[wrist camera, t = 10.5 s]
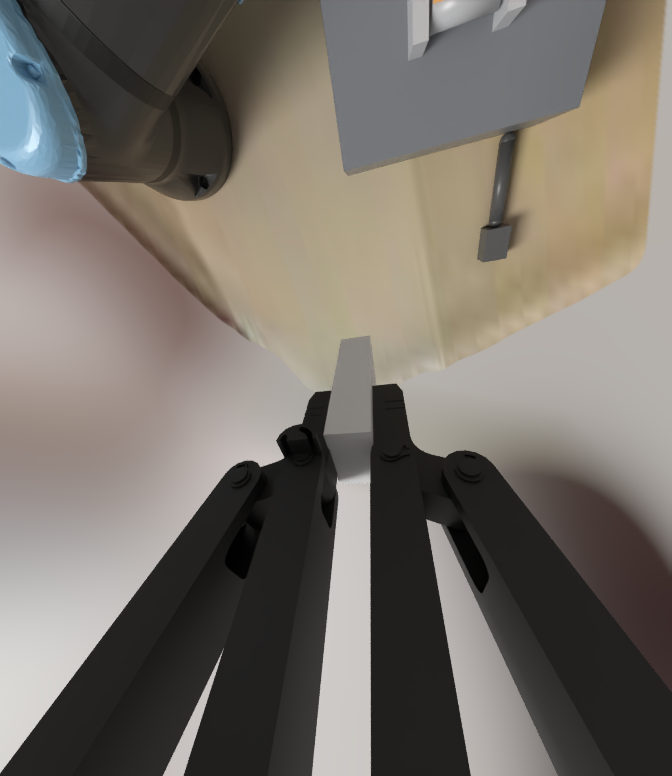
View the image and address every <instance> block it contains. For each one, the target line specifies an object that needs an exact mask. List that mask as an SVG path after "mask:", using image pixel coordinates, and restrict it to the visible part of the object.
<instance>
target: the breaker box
mask: <svg viewBox="0 0 672 776" xmlns="http://www.w3.org/2000/svg"><path fill="white" fill-rule="evenodd" d="M320 3H321V10H322V17H323V24H324V32H325V39H326V46H327V53H328V60H329V67H330V75H331V82H332V89H333V96H334V103H335V111H336V118H337V125H338V132H339V139H340V147H341V154H342V161H343V168H344V172H345V173H346V174H347V175H348V176H349V175H353V174H357V173H360V172H364V171H368V170H371V169H375V168H379V167H383V166H386V165H390V164H394V163H397V162H401V161H405V160H409V159H412V158H416V157H420V156H423V155H427V154H431V153H435V152H438V151H442V150H446V149H449V148H453V147H457V146H461V145H464V144H468V143H472V142H475V141H479V140H483V139H487V138H490V137H494V136H498V135H501V134H504V135H503V136H502V138H501V140H500V143H499V150H498V157H497V165H496V172H495V180H494V187H493V195H492V202H491V210H490V218H489V225H490V227H486V228H481V233H480V241H479V250H478V258H477V259H478V260H480V261H482V262H488V261H494V260H499V259H505V258H506V257H507V251H508V245H509V240H510V234H511V229H512V225H508V224H501V223H502V220H503V214H504V208H505V202H506V195H507V189H508V183H509V176H510V170H511V164H512V157H513V151H514V145H515V138H516V137H515V134H514V133H513V131H516V130H520V129H524V128H527V127H531V126H535V125H537V124H539V123H542V122H544V121H547V120H549V119H552V118H554V117H556V116H559V115H561V114H564V113H566V112H569V111H571V110H573V109H576V108H578V107H579V106H580V102H581V98H582V95H583V91H584V87H585V83H586V79H587V75H588V71H589V67H590V63H591V59H592V55H593V51H594V47H595V43H596V39H597V35H598V31H599V27H600V23H601V20H602V16H603V12H604V8H605V4H606V0H501V3H500V6H499V8H498V10H497V11H496V12H495V13H492V14H489V15H486V16H483V17H481V18H478V19H475V20H472V21H470V22H467V23H464V24H461V25H458V26H456V27H453V28H450V29H447V30H444V31H442V32H439V33H436V34H433V35H431V36H429V0H320ZM505 133H506V134H505Z"/></svg>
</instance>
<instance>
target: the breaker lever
mask: <svg viewBox="0 0 672 776" xmlns="http://www.w3.org/2000/svg"><path fill="white" fill-rule="evenodd" d="M500 3H501V0H429V36H431V35H433V34H436V33H439V32H442V31H444V30H447V29H450V28H453V27H456V26H458V25H461V24H464V23H467V22H470V21H472V20H475V19H478V18H481V17H483V16H486V15H489V14H492V13H495V12H496V11H497V10H498V8H499V6H500Z"/></svg>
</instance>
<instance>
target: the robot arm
mask: <svg viewBox="0 0 672 776" xmlns="http://www.w3.org/2000/svg"><path fill="white" fill-rule="evenodd" d="M243 1H244V0H0V164H2V165H4V166H6V167H8V168H10V169H12V170H15V171H18V172H20V173H24V174H27V175H31V176H38V177H46V178H54V179H57V180H60V181H62V182H67V183H68V182H69V183H73V182H75V181H76V182H78V181H99V182H128V183H144V184H145V185H147V186H149V187H151V188H152V189H154V190H156V191H158V192H160V193H161V194H163V195H165V196H168V197H170V198H173V199H177V200H183V201H196V200H203V199H206V198H208V197H210V196H212V195H213V194H215V193H216V192H217V191H218V190H219V189H220V188H221V186H222V185H223V183H224V182H225V180H226V178H227V175H228V172H229V169H230V165H231V159H232V135H231V128H230V123H229V118H228V114H227V111H226V108H225V105H224V102H223V99H222V97H221V95H220V92H219V90H218V88H217V86H216V84H215V82H214V80H213V79H212V77H211V75H210V74H209V72H208V71H207V69H206V68H205V67H204V65H203V64H202V63H201V61H200V59H201V57H202V56H203V54H204V52H205V51H206V49H207V48H208V46H209V45H210V43H211V42H212V40H213V38H214V37H215V35H216V34H217V32H218V31H219V29H220V28H221V26H222V24H223V23H224V21H225V20H226V18H227V17H228V15H229V14H230V12H231V10H232V9H233V7H234V6H235V4H236V3H238V4H242V2H243ZM276 441H277V443H278V445H279V447H280V449H281V451H282V453H283V455H284V459H282V460H280V461H278V462H275V463H272V464H269V465H266V466H263V467H260V466H259V465H258V463H256V462H254V461H244V462H241V463H238V464H236V465H235V466H233V467H232V468H231V469H230V470H229V471H228V472H227V473H226V474H225V475H224V477H223V478H222V479H221V480H220V482H219V483H218V484H217V486H216V487H215V488H214V490H213V491H212V492H211V494H210V495H209V496H208V498H207V499H206V500H205V502H204V503H203V504H202V506H201V507H200V508H199V510H198V511H197V512H196V514H195V515H194V516H193V518H192V519H191V520H190V522H189V523H188V524H187V526H186V527H185V528H184V530H183V531H182V532H181V534H180V535H179V536H178V538H177V539H176V540H175V542H174V543H173V544H172V546H171V547H170V548H169V549H168V551H167V552H166V553H165V555H164V556H163V558H162V559H161V560H160V561H159V563H158V564H157V565H156V567H155V568H154V570H153V571H152V572H151V574H150V575H149V576H148V577H147V579H146V580H145V581H144V583H143V584H142V586H141V587H140V588H139V590H138V591H137V592H136V594H135V595H134V596H133V598H132V599H131V600H130V601H129V603H128V604H127V605H126V607H125V608H124V609H123V611H122V612H121V614H120V615H119V616H118V617H117V619H116V620H115V621H114V623H113V624H112V625H111V627H110V628H109V629H108V631H107V632H106V633H105V635H104V636H103V637H102V639H101V640H100V641H99V643H98V644H97V645H96V647H95V648H94V650H93V651H92V652H91V653H90V655H89V656H88V657H87V659H86V660H85V661H84V663H83V664H82V665H81V667H80V668H79V669H78V671H77V672H76V673H75V675H74V676H73V678H72V679H71V680H70V681H69V683H68V684H67V685H66V687H65V688H64V689H63V691H62V692H61V693H60V695H59V696H58V697H57V699H56V700H55V701H54V703H53V704H52V706H51V707H50V708H49V709H48V711H47V712H46V713H45V715H44V716H43V717H42V719H41V720H40V721H39V723H38V724H37V725H36V727H35V728H34V729H33V731H32V732H31V733H30V735H29V736H28V737H27V739H26V740H25V741H24V743H23V744H22V745H21V747H20V748H19V749H18V751H17V752H16V753H15V755H14V756H13V757H12V759H11V760H10V761H9V762H8V764H7V765H6V766H5V768H4V769H3V770H2V772H1V773H0V776H163V774H164V772H165V770H166V767H167V765H168V763H169V761H170V759H171V757H172V755H173V753H174V751H175V749H176V747H177V745H178V743H179V741H180V739H181V736H182V734H183V732H184V730H185V728H186V726H187V724H188V722H189V720H190V718H191V716H192V713H193V711H194V709H195V707H196V705H197V703H198V701H199V699H200V697H201V695H202V692H203V690H204V688H205V686H206V684H207V682H208V680H209V678H210V676H211V674H212V672H213V669H214V667H215V665H216V663H217V661H218V659H219V657H220V655H221V653H222V651H223V653H222V656H221V659H220V662H219V666H218V669H217V672H216V675H215V678H214V681H213V685H212V688H211V691H210V694H209V697H208V700H207V704H206V707H205V710H204V713H203V716H202V719H201V723H200V726H199V729H198V732H197V735H196V738H195V741H194V745H193V748H192V751H191V754H190V757H189V760H188V764H187V767H186V770H185V773H184V776H312V767H313V755H314V745H315V736H316V725H317V714H318V705H319V694H320V683H321V673H322V663H323V653H324V643H325V632H326V621H327V610H328V601H329V590H330V580H331V570H332V559H333V549H334V539H335V528H336V518H337V508H338V492H337V489H336V483H337V477H338V480H339V483H340V484H356V483H357V484H360V483H370V524H371V525H370V531H371V532H370V533H371V537H370V538H371V543H370V544H371V545H370V546H371V776H471V775H470V769H469V763H468V757H467V752H466V746H465V740H464V734H463V729H462V723H461V718H460V712H459V705H458V700H457V694H456V688H455V682H454V677H453V671H452V665H451V660H450V654H449V648H448V642H447V636H446V631H445V625H444V619H443V613H442V608H441V602H440V596H439V591H438V585H437V579H436V573H435V567H434V562H433V556H432V550H431V544H430V539H429V533H428V527H427V521H426V519H427V520H430V521H433V522H436V523H439V524H441V525H442V527H443V529H444V531H445V534H446V536H447V538H448V540H449V542H450V544H451V546H452V548H453V551H454V553H455V555H456V557H457V559H458V562H459V563H460V566H461V568H462V570H463V572H464V574H465V577H466V578H467V581H468V583H469V585H470V587H471V589H472V592H473V594H474V596H475V598H476V600H477V602H478V604H479V606H480V609H481V611H482V613H483V615H484V617H485V620H486V622H487V624H488V626H489V628H490V630H491V632H492V634H493V637H494V639H495V641H496V643H497V645H498V647H499V650H500V652H501V654H502V656H503V658H504V660H505V662H506V665H507V667H508V669H509V671H510V673H511V675H512V678H513V680H514V682H515V684H516V686H517V688H518V690H519V693H520V695H521V697H522V699H523V701H524V703H525V705H526V708H527V710H528V712H529V714H530V716H531V718H532V720H533V723H534V725H535V727H536V729H537V731H538V733H539V736H540V738H541V740H542V742H543V744H544V746H545V748H546V750H547V752H548V755H549V757H550V759H551V761H552V763H553V766H554V768H555V770H556V772H557V774H558V776H672V692H671V691H670V690H669V689H668V687H667V686H666V685H665V683H664V682H663V681H662V680H661V678H660V677H659V676H658V675H657V673H656V672H655V671H654V669H653V668H652V667H651V666H650V665H649V663H648V662H647V660H646V659H645V658H644V657H643V655H642V654H641V653H640V651H639V650H638V649H637V648H636V646H635V645H634V644H633V643H632V641H631V640H630V639H629V637H628V636H627V635H626V633H625V632H624V631H623V630H622V628H621V627H620V626H619V625H618V623H617V622H616V621H615V619H614V618H613V617H612V616H611V614H610V613H609V612H608V610H607V609H606V608H605V607H604V606H603V604H602V603H601V602H600V600H599V599H598V598H597V596H596V595H595V594H594V593H593V591H592V590H591V589H590V588H589V586H588V585H587V584H586V582H585V581H584V580H583V579H582V577H581V576H580V575H579V573H578V572H577V571H576V570H575V568H574V567H573V566H572V565H571V563H570V562H569V561H568V559H567V558H566V557H565V556H564V554H563V553H562V552H561V550H560V549H559V548H558V547H557V545H556V544H555V543H554V541H553V540H552V539H551V538H550V536H549V535H548V534H547V533H546V531H545V530H544V529H543V527H542V526H541V525H540V524H539V522H538V521H537V520H536V518H535V517H534V516H533V515H532V513H531V512H530V511H529V510H528V508H527V507H526V506H525V505H524V503H523V502H522V501H521V499H520V498H519V497H518V496H517V494H516V493H515V492H514V491H513V489H512V488H511V487H510V485H509V484H508V483H507V482H506V480H505V479H504V478H503V476H502V475H501V474H500V472H499V471H498V470H497V469H496V467H495V466H494V465H493V464H492V463H491V462H490V461H489V460H488V459H487V458H486V457H483V456H482V455H480V454H478V453H475V452H471V451H466V450H465V451H456V452H453V453H451V454H449V455H448V456H447V457H446V458H443V457H440V456H435V455H431V454H428V453H425V452H424V451H421V450H420V449H419V448H417V447H416V446H415V445H414V443H413V442H412V440H411V437H410V432H409V427H408V421H407V415H406V409H405V403H404V397H403V391H402V390H401V389H400V388H399V386H398V385H397V384H387V385H376V377H375V369H374V362H373V354H372V347H371V339H370V336H364V337H357V338H350V339H342V340H341V344H340V349H339V354H338V359H337V365H336V370H335V375H334V381H333V386H332V391H323V392H315V394H314V395H313V396H312V397H311V398H310V400H309V403H308V406H307V410H306V413H305V417H304V420H303V423H302V424H299V425H295V426H292V427H290V428H288V429H286V430H285V431H283V432H282V433H281V434H280V435H279V437H278V439H277V440H276ZM223 649H224V650H223Z"/></svg>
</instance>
